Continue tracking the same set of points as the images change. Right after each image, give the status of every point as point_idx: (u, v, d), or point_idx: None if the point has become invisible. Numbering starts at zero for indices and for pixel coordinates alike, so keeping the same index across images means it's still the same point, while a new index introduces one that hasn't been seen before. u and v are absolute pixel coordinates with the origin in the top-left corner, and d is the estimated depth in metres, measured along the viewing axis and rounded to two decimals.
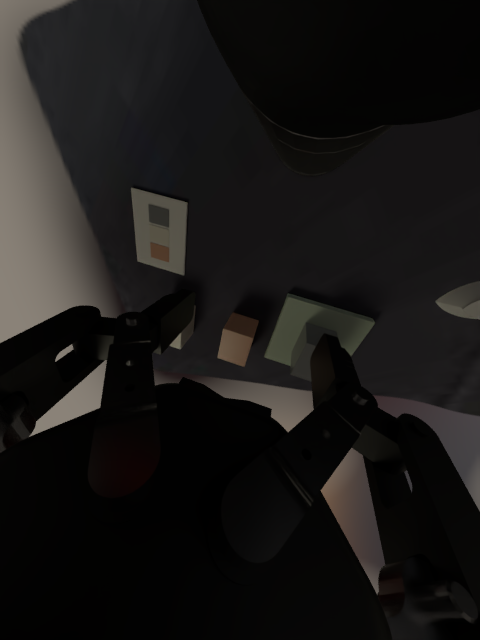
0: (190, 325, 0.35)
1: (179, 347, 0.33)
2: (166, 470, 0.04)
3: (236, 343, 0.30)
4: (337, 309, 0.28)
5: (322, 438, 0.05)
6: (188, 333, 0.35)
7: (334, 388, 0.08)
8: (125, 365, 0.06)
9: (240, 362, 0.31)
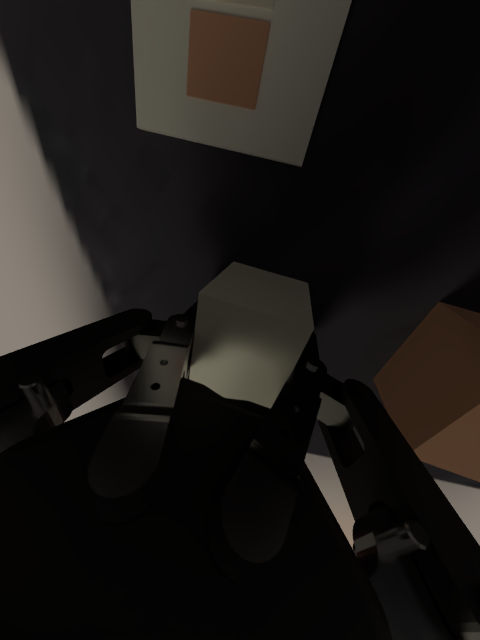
0: None
1: None
2: (165, 470, 0.04)
3: None
4: None
5: (293, 413, 0.06)
6: None
7: None
8: (159, 363, 0.06)
9: None
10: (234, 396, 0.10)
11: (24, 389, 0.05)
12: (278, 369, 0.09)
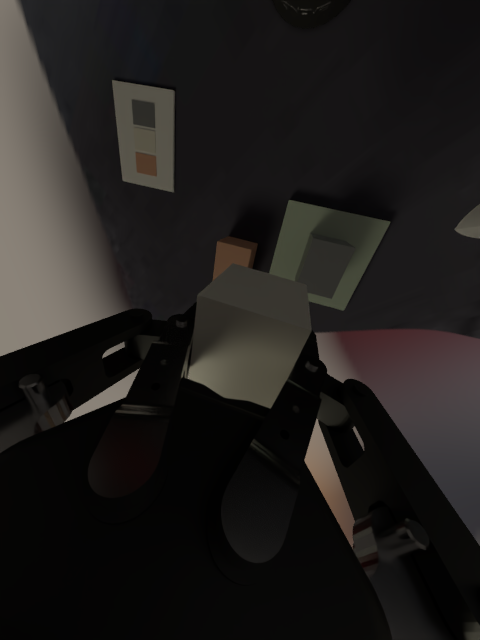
0: None
1: None
2: (166, 470, 0.04)
3: (232, 260, 0.26)
4: (346, 212, 0.24)
5: (293, 414, 0.06)
6: None
7: None
8: (159, 363, 0.06)
9: None
10: (233, 397, 0.10)
11: (24, 389, 0.05)
12: (276, 371, 0.09)
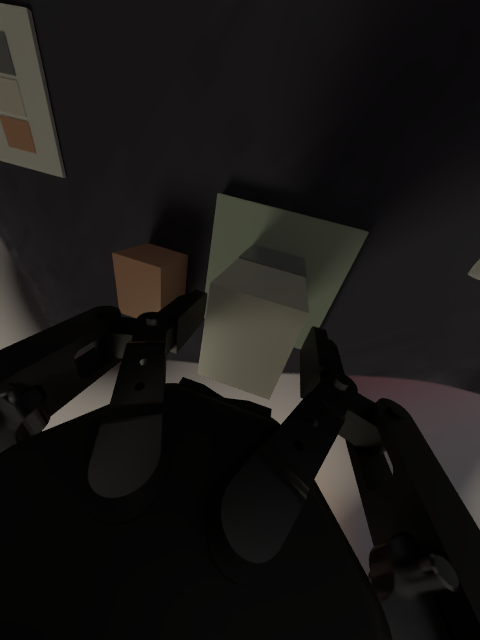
0: None
1: (268, 394, 0.12)
2: (166, 470, 0.04)
3: (138, 282, 0.18)
4: None
5: (311, 427, 0.05)
6: None
7: (319, 376, 0.09)
8: (139, 363, 0.06)
9: None
10: (239, 377, 0.11)
11: None
12: (278, 351, 0.10)
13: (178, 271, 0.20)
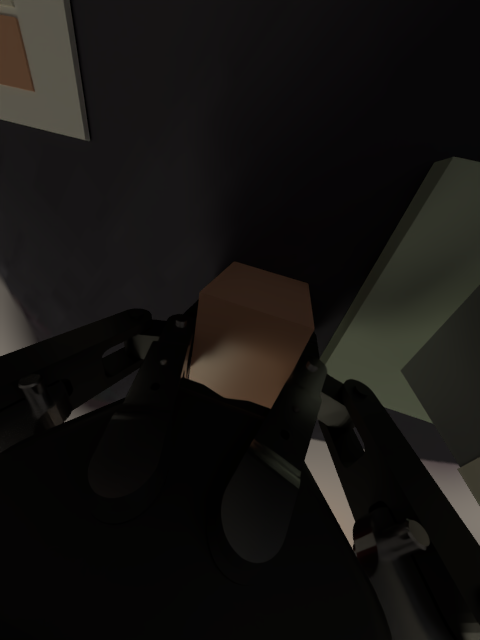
0: None
1: None
2: (166, 470, 0.04)
3: (245, 349, 0.09)
4: None
5: (293, 414, 0.06)
6: None
7: None
8: (159, 363, 0.06)
9: None
10: None
11: (24, 389, 0.05)
12: None
13: None
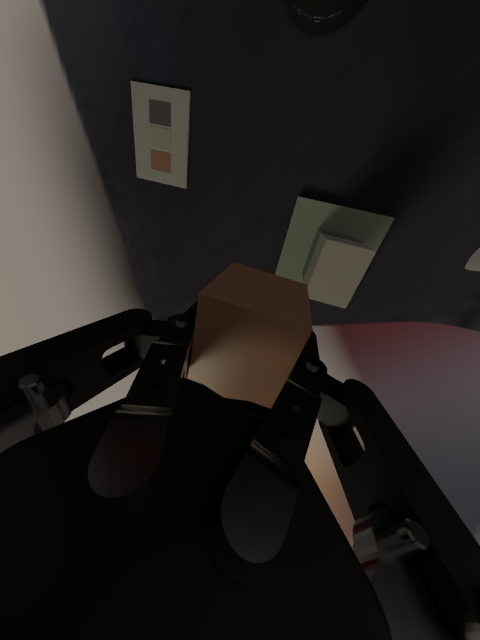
0: None
1: (345, 305, 0.21)
2: (166, 470, 0.04)
3: (244, 350, 0.09)
4: (352, 208, 0.26)
5: (293, 414, 0.06)
6: None
7: None
8: (159, 363, 0.06)
9: None
10: (330, 295, 0.21)
11: (24, 389, 0.05)
12: (356, 275, 0.19)
13: None
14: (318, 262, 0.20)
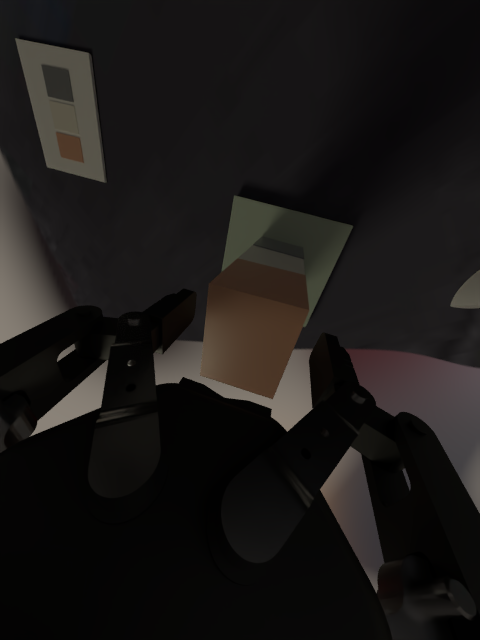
0: None
1: None
2: (166, 470, 0.04)
3: (250, 332, 0.10)
4: None
5: (321, 437, 0.05)
6: None
7: (332, 387, 0.08)
8: (127, 364, 0.06)
9: (262, 387, 0.11)
10: None
11: None
12: None
13: None
14: None
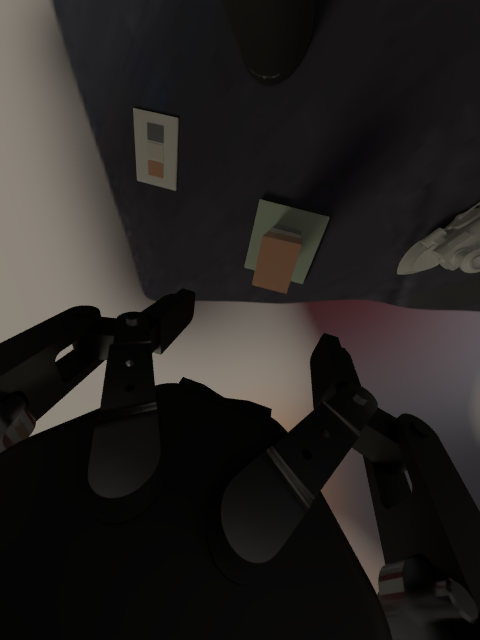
0: None
1: None
2: (166, 470, 0.04)
3: (278, 257, 0.23)
4: None
5: (321, 438, 0.05)
6: None
7: (334, 388, 0.08)
8: (126, 364, 0.06)
9: (281, 287, 0.25)
10: None
11: None
12: None
13: None
14: None
